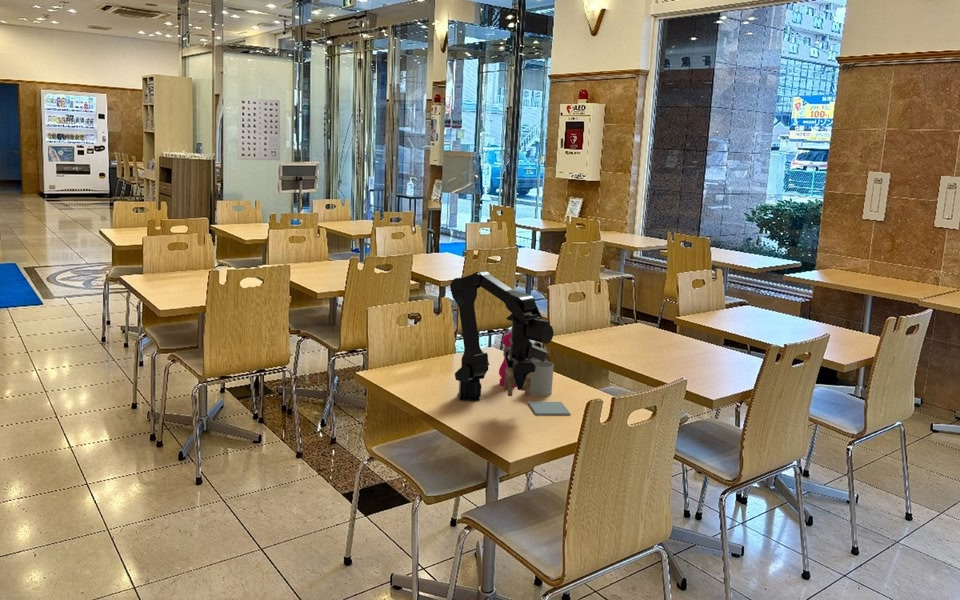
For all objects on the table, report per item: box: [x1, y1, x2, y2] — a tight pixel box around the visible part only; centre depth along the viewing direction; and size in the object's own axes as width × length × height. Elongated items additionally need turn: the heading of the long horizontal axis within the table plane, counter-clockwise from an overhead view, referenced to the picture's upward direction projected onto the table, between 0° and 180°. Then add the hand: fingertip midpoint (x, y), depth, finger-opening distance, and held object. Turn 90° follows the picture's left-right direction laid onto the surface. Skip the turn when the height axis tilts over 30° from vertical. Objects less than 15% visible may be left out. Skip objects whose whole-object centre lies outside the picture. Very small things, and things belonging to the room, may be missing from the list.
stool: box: [503, 368, 531, 397], centre depth 236 cm, size 7×7×7 cm
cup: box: [530, 359, 555, 397], centre depth 261 cm, size 8×8×10 cm
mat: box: [527, 401, 571, 416], centre depth 245 cm, size 11×11×1 cm
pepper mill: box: [498, 328, 517, 388], centre depth 266 cm, size 7×7×20 cm
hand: (517, 386), depth 236 cm, fingers closed on stool, 6 cm apart
